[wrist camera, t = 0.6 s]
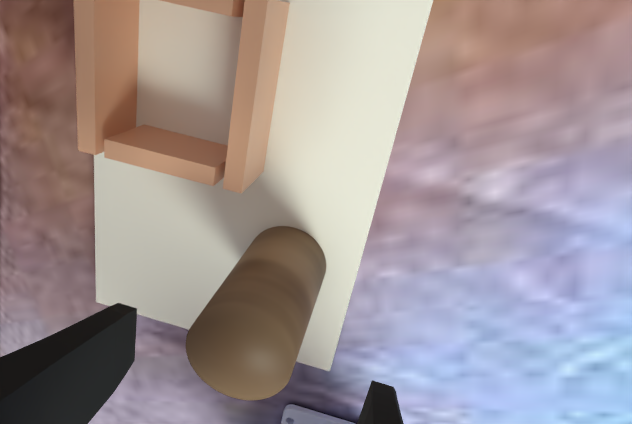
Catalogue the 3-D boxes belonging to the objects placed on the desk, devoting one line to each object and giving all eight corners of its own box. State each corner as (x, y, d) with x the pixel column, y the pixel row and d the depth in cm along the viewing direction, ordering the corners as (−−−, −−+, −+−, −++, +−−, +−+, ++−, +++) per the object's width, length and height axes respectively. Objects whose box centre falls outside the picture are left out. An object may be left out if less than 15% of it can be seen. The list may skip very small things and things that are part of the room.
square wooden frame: (263, 171, 20) (241, 193, 18) (120, 134, 21) (78, 150, 18) (289, 2, 18) (268, -2, 15) (122, -34, 18) (72, -45, 15)
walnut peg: (317, 305, 23) (282, 413, 16) (244, 284, 23) (182, 381, 17) (334, 238, 21) (302, 329, 15) (254, 216, 22) (189, 296, 15)
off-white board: (332, 359, 25) (329, 371, 24) (106, 292, 26) (95, 302, 26) (441, -35, 17) (443, -39, 16) (106, -103, 18) (90, -110, 17)
